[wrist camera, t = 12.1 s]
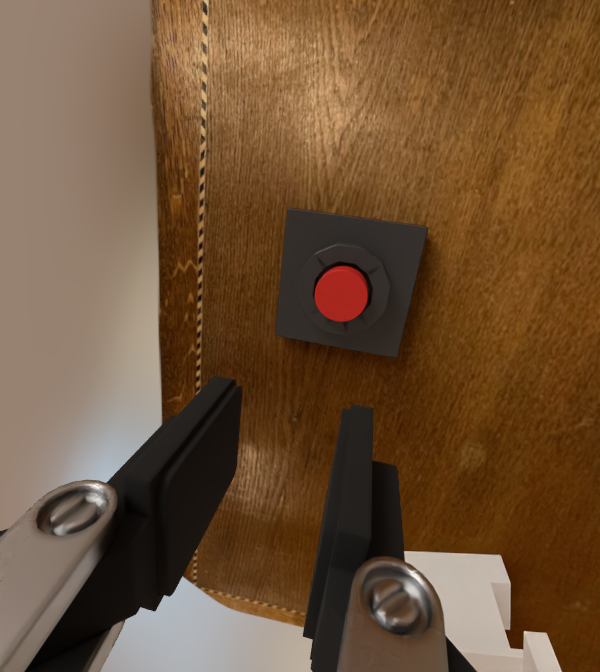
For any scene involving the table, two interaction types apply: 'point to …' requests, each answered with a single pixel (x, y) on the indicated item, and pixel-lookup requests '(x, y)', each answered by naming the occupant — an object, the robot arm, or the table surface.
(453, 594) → the white open holder
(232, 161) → the table surface
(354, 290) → the button
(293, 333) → the dark grey mounting base
